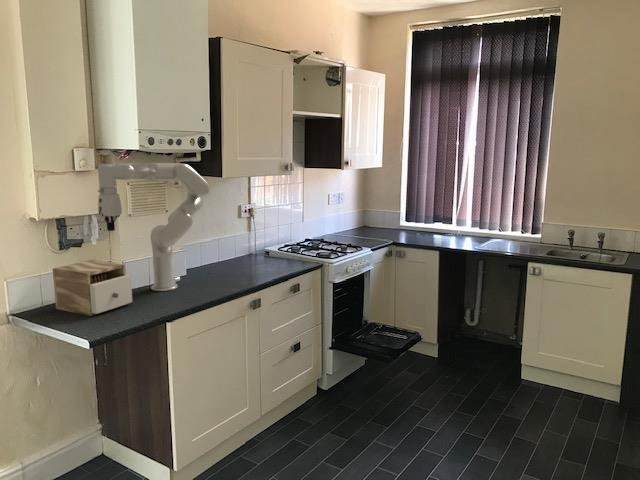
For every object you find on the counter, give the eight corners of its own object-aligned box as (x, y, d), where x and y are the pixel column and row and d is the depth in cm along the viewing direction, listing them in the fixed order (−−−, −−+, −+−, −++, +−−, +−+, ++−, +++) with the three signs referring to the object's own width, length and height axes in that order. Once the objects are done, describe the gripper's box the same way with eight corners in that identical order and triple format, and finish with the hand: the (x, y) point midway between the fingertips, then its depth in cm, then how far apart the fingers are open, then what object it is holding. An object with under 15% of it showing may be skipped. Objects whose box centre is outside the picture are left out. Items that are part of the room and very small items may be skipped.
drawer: (96, 295, 252) (94, 270, 250) (134, 302, 240) (133, 276, 238) (60, 306, 235) (57, 279, 233) (98, 314, 224) (96, 286, 221)
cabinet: (94, 297, 253) (91, 259, 250) (127, 303, 243) (125, 264, 240) (56, 308, 236) (52, 268, 233) (90, 316, 226) (87, 274, 223)
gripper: (100, 192, 241) (103, 233, 244) (126, 190, 254) (129, 228, 257) (89, 192, 245) (92, 232, 248) (115, 189, 258) (118, 227, 261)
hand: (111, 230), depth 252 cm, fingers closed
